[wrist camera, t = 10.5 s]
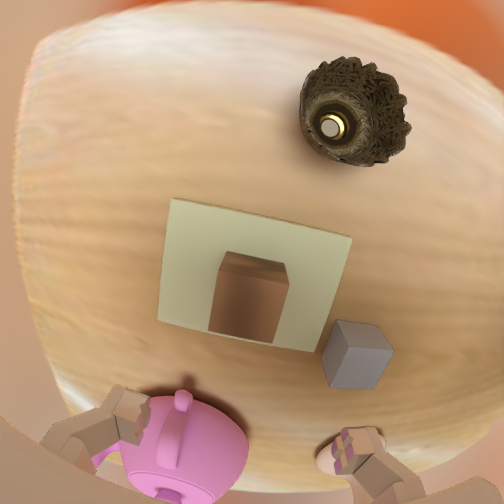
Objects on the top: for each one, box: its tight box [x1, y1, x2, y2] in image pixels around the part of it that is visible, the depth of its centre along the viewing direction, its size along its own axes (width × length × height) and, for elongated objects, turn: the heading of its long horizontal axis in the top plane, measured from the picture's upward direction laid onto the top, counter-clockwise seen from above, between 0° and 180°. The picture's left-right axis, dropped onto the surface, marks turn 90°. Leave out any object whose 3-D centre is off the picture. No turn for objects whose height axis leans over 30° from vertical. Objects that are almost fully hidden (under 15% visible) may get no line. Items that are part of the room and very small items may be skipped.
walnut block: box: [208, 251, 290, 344], centre depth 22 cm, size 5×5×5 cm
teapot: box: [91, 390, 249, 504], centre depth 25 cm, size 22×22×14 cm
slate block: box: [321, 320, 395, 390], centre depth 25 cm, size 5×5×5 cm
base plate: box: [158, 198, 353, 352], centre depth 25 cm, size 16×12×1 cm
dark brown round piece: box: [299, 56, 412, 167], centre depth 18 cm, size 8×7×8 cm
